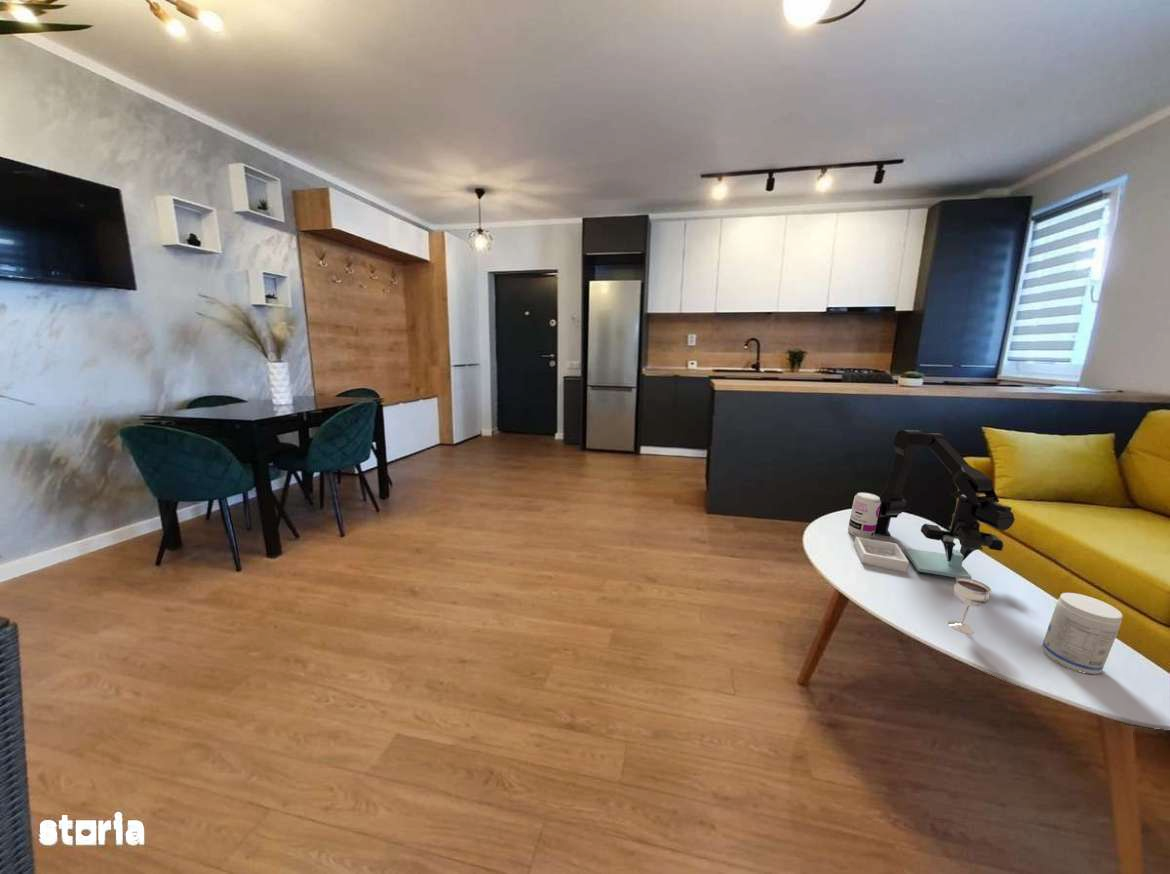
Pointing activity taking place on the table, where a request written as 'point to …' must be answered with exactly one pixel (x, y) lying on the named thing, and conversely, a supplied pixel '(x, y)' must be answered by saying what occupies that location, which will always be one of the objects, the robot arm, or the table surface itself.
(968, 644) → the table surface
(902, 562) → the white shallow square tray
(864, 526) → the supplement can
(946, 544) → the robot arm
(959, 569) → the lid
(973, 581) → the wineglass
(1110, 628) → the supplement tub
